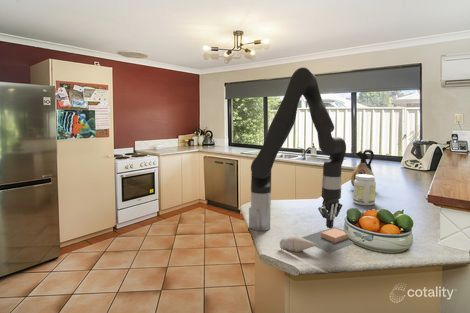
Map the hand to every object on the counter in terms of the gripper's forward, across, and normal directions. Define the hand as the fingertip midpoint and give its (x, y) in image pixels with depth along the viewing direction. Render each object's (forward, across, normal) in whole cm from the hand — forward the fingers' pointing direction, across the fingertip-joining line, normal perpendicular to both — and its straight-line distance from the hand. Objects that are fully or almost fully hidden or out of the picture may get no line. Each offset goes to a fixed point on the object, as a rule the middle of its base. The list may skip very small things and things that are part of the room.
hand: (329, 227), depth 121 cm
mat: (+6, +2, 0) cm, 6 cm away
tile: (+4, -1, 0) cm, 4 cm away
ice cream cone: (+6, -18, 0) cm, 19 cm away
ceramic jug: (+6, +92, +43) cm, 102 cm away
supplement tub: (+6, +64, +25) cm, 69 cm away
